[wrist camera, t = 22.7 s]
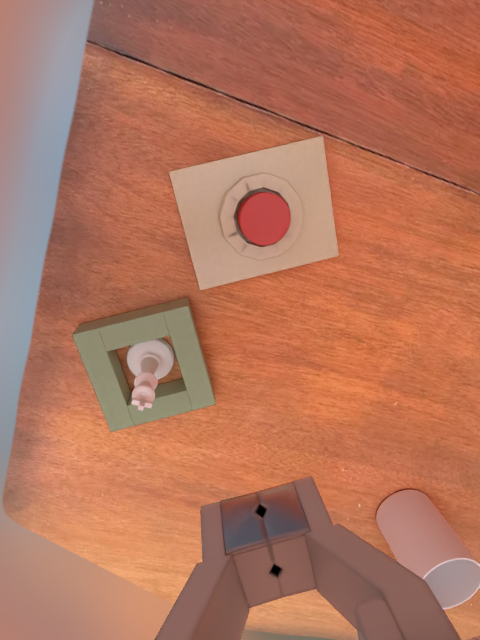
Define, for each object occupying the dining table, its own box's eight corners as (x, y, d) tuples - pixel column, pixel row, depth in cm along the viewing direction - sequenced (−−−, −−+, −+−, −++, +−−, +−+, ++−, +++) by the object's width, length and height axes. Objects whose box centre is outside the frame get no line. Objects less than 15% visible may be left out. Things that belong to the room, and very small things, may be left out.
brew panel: (199, 285, 40) (200, 295, 36) (169, 172, 36) (167, 171, 32) (331, 252, 41) (346, 259, 37) (315, 138, 37) (330, 132, 33)
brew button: (243, 247, 36) (245, 250, 34) (232, 198, 34) (234, 199, 33) (289, 236, 36) (294, 238, 34) (281, 186, 34) (286, 186, 33)
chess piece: (167, 382, 43) (162, 438, 34) (122, 372, 42) (104, 427, 33) (179, 342, 42) (178, 388, 32) (133, 330, 41) (117, 375, 31)
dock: (115, 416, 44) (110, 432, 41) (79, 324, 40) (71, 334, 37) (214, 390, 44) (216, 404, 41) (188, 296, 40) (188, 305, 37)
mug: (385, 485, 52) (432, 556, 42) (438, 490, 53) (495, 559, 44) (358, 555, 56) (395, 635, 46) (408, 558, 57) (454, 636, 47)
